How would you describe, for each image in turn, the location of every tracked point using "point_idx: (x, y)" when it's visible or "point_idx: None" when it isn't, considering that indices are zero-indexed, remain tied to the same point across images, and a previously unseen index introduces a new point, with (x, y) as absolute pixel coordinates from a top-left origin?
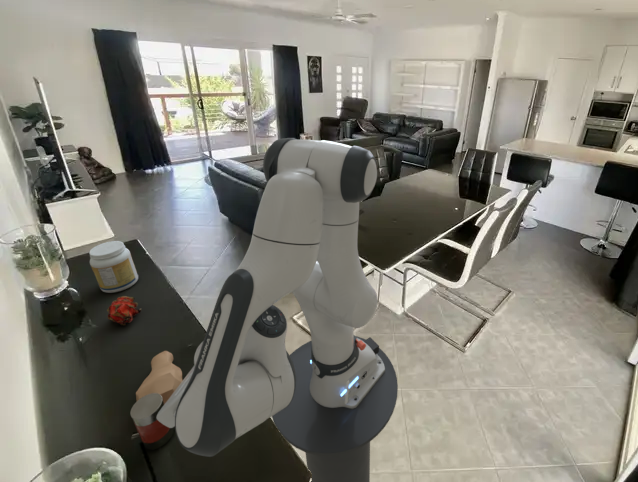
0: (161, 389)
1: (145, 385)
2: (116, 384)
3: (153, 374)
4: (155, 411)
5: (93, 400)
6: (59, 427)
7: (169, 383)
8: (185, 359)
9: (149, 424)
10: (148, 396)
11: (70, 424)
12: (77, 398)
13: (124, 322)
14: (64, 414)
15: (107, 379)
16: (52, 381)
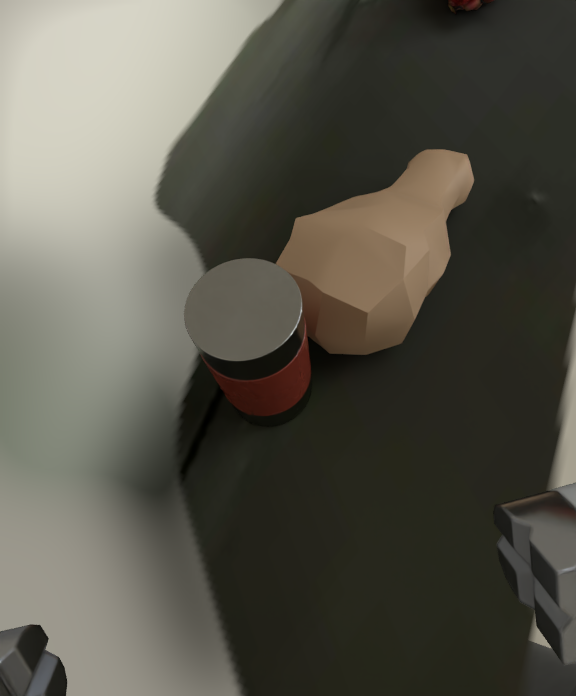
0: (341, 281)
1: (326, 220)
2: (324, 152)
3: (373, 203)
4: (237, 361)
5: (269, 151)
6: (193, 156)
7: (375, 283)
8: (490, 230)
9: (216, 371)
10: (274, 277)
11: (206, 167)
12: (257, 120)
13: (458, 5)
14: (218, 136)
15: (323, 124)
16: (263, 48)
